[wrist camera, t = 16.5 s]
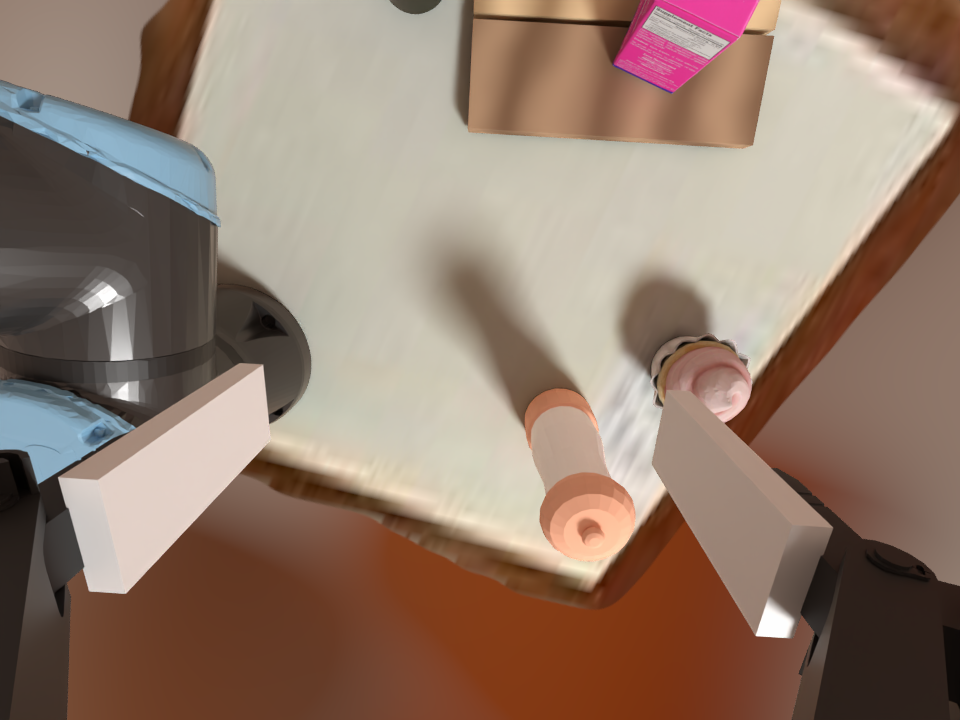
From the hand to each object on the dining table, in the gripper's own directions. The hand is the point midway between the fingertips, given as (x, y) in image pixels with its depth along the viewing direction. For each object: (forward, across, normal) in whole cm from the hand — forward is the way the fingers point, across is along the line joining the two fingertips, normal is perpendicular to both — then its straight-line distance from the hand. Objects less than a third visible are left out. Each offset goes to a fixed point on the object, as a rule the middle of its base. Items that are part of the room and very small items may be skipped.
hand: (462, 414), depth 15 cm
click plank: (+31, +10, +16) cm, 37 cm away
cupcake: (+32, +21, -8) cm, 39 cm away
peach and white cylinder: (+32, +9, -15) cm, 36 cm away
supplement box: (+30, +13, +19) cm, 38 cm away
